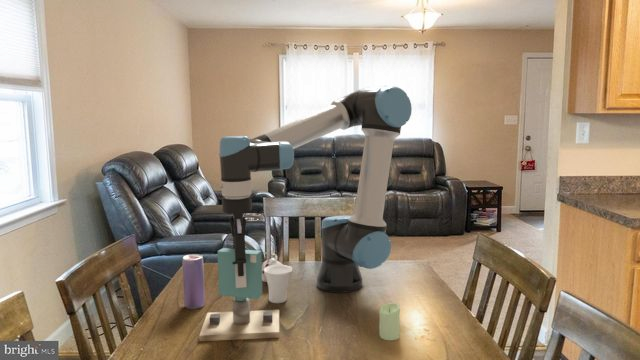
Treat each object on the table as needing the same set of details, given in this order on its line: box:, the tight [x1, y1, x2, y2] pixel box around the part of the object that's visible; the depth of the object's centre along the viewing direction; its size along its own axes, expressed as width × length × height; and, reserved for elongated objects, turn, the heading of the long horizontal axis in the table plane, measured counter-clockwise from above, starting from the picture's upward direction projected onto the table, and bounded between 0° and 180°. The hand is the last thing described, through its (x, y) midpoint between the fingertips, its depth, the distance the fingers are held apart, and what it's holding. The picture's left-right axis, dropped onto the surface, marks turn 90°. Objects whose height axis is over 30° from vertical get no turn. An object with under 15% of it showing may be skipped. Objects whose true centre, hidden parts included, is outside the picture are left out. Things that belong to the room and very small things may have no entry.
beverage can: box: [182, 253, 206, 310], centre depth 142 cm, size 6×6×15 cm
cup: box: [264, 264, 294, 304], centre depth 146 cm, size 9×9×10 cm
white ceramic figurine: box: [262, 253, 284, 283], centre depth 162 cm, size 10×8×15 cm
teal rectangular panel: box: [217, 247, 263, 302], centre depth 127 cm, size 3×11×13 cm, turn 74°
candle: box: [378, 302, 401, 341], centre depth 122 cm, size 5×5×8 cm
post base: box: [198, 298, 280, 342], centre depth 128 cm, size 20×14×8 cm
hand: (240, 282), depth 127 cm, fingers closed on teal rectangular panel, 5 cm apart
